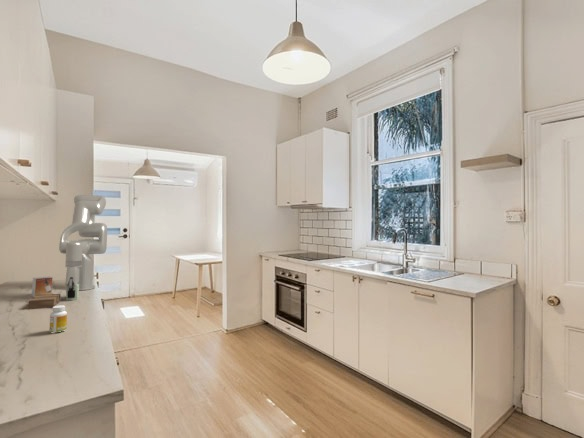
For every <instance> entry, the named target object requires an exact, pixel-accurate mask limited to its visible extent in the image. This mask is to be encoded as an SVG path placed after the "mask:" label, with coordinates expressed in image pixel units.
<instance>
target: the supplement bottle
mask: <svg viewBox="0 0 584 438" xmlns="http://www.w3.org/2000/svg"><path fill="white" fill-rule="evenodd" d="M51 310H52V312H50V314H49V331H50V332H61V331H64V332H66V331H67V324H68V321H67V320H68V312H67V311H66V306H65V305H63V304H62V305H61V304H60V305H56V306H54V307H53V308H52V309H51ZM65 330H66V331H65ZM49 331H48V332H49ZM50 332H49V333H50ZM61 333H62V332H61Z"/></svg>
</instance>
